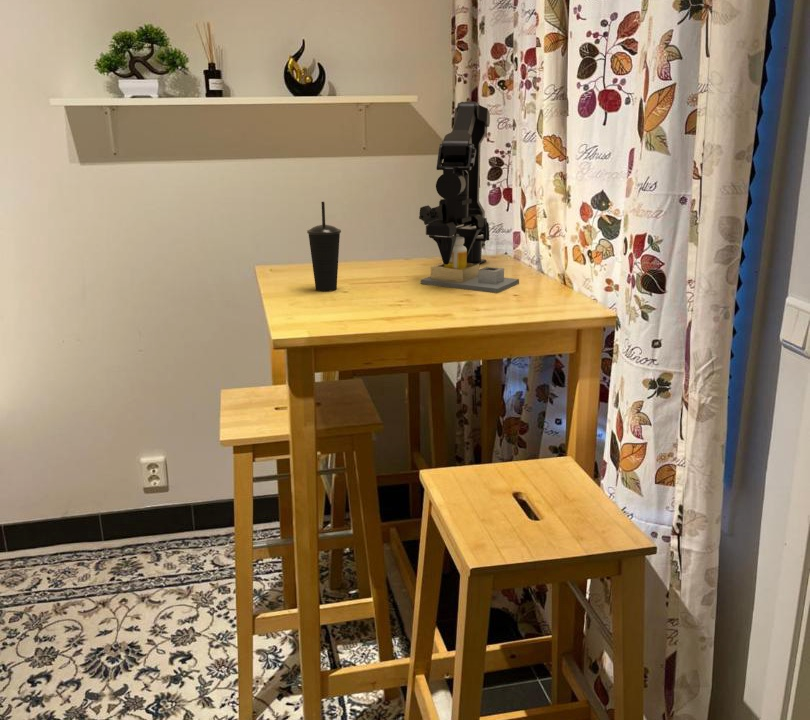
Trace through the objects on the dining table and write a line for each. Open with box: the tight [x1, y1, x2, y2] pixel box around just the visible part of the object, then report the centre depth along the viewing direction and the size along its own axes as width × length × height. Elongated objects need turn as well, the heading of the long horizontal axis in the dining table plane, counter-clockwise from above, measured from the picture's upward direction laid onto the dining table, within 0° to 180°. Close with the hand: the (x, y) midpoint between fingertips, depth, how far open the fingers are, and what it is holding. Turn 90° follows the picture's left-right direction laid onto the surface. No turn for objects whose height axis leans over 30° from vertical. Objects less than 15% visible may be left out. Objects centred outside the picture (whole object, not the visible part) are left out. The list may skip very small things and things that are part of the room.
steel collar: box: [478, 266, 505, 285], centre depth 184 cm, size 4×4×3 cm
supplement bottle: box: [444, 236, 467, 269], centre depth 187 cm, size 5×5×10 cm
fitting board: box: [420, 275, 520, 294], centre depth 187 cm, size 12×20×1 cm, turn 58°
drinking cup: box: [306, 201, 342, 292], centre depth 179 cm, size 8×8×20 cm
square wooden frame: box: [430, 262, 480, 283], centre depth 188 cm, size 8×8×3 cm
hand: (455, 261), depth 188 cm, fingers open, 9 cm apart
